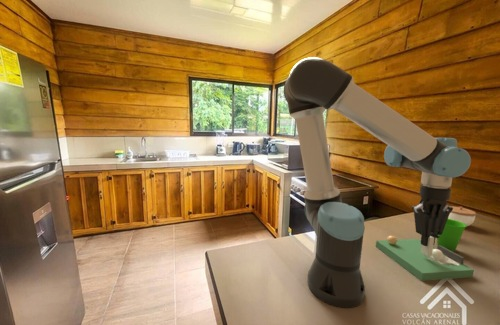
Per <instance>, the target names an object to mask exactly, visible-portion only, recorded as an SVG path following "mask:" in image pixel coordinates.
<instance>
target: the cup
mask: <svg viewBox="0 0 500 325" xmlns="http://www.w3.org/2000/svg"><path fill="white" fill-rule="evenodd" d="M467 227H468V226H466V224H464V223H462V222H460V221H457V220H453V219H447V222H446V225H445V228H444V230H443V233H442V235H437V236H440V237H439V238H436V239H437V240H436V246H438V245H441V246H443V247H445V248H446V249H448V250H450V251H452V252H454V253H455V252H456V250H457V248H458V245H459V243H460V240H461V238H462V236H463V233H464V231H465V229H466V228H467Z"/></svg>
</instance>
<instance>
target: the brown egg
mask: <svg viewBox="0 0 500 325" xmlns="http://www.w3.org/2000/svg"><path fill="white" fill-rule="evenodd" d="M386 240H387V241H388V243H390V244H392V245H394V244H396V243H397V240H398V238H397V237H396V236H394V235H388V236H387V238H386Z"/></svg>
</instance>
